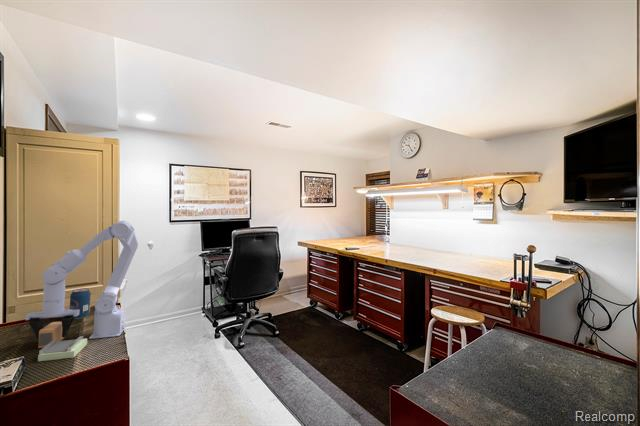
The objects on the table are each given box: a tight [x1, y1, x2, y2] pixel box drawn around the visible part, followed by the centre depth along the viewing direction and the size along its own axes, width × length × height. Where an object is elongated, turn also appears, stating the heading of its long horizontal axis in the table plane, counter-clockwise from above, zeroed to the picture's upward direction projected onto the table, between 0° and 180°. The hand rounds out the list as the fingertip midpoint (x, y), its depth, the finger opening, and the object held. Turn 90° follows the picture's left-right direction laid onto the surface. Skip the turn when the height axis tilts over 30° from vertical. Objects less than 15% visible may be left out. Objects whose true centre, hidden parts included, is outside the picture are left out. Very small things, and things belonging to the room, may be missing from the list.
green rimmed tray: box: [37, 335, 88, 362], centre depth 94 cm, size 9×10×3 cm
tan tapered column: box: [37, 321, 64, 349], centre depth 100 cm, size 4×9×6 cm, turn 20°
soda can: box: [69, 287, 92, 320], centre depth 125 cm, size 7×7×12 cm
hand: (52, 337), depth 101 cm, fingers open, 6 cm apart
